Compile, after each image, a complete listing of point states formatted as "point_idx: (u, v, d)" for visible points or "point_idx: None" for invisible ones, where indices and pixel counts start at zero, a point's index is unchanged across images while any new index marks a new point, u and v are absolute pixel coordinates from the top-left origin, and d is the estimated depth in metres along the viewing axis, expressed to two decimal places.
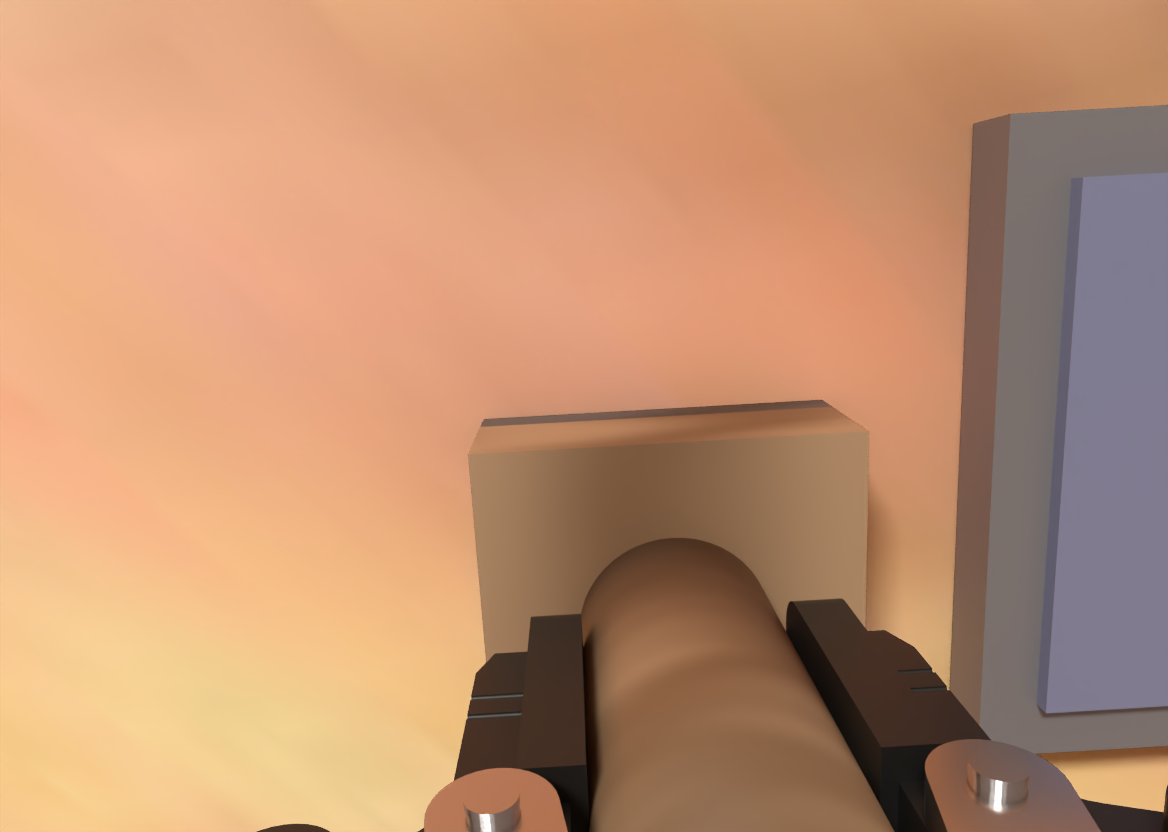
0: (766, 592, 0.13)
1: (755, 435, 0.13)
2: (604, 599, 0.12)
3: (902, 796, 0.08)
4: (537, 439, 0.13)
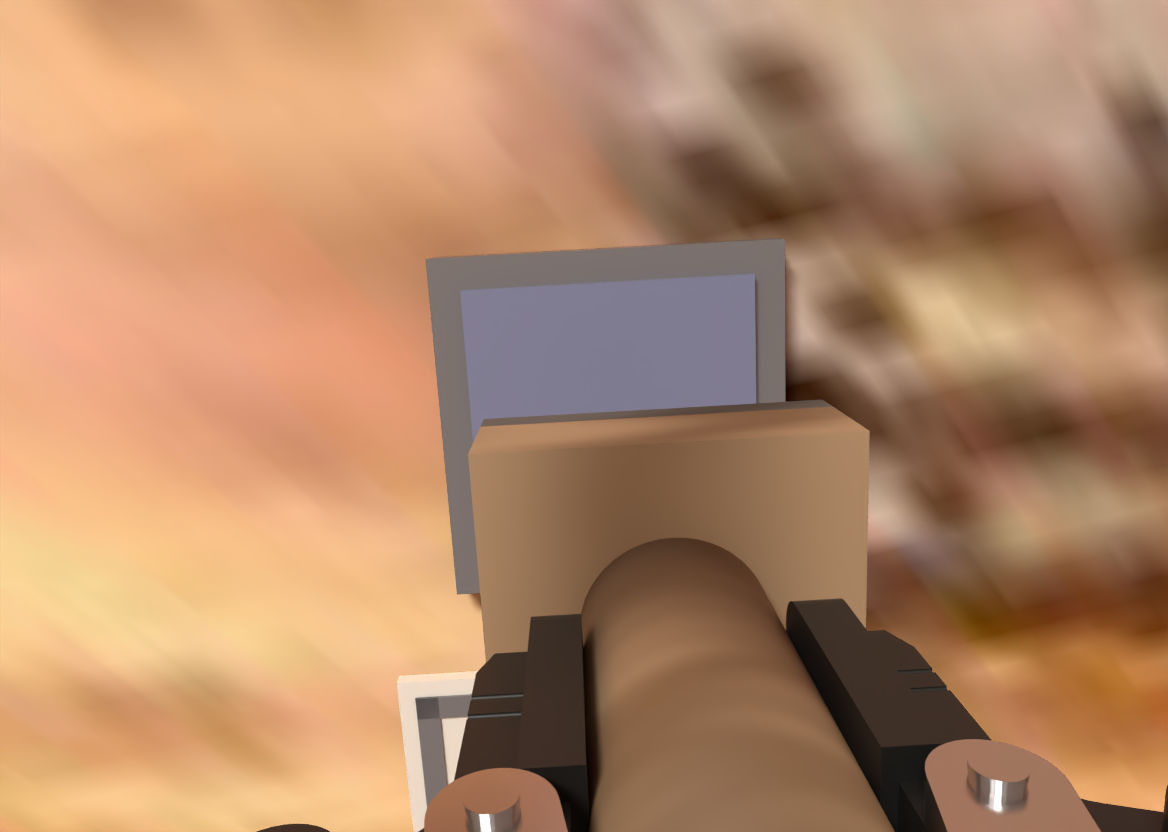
0: (766, 592, 0.13)
1: (755, 434, 0.13)
2: (604, 599, 0.12)
3: (902, 796, 0.08)
4: (537, 439, 0.13)
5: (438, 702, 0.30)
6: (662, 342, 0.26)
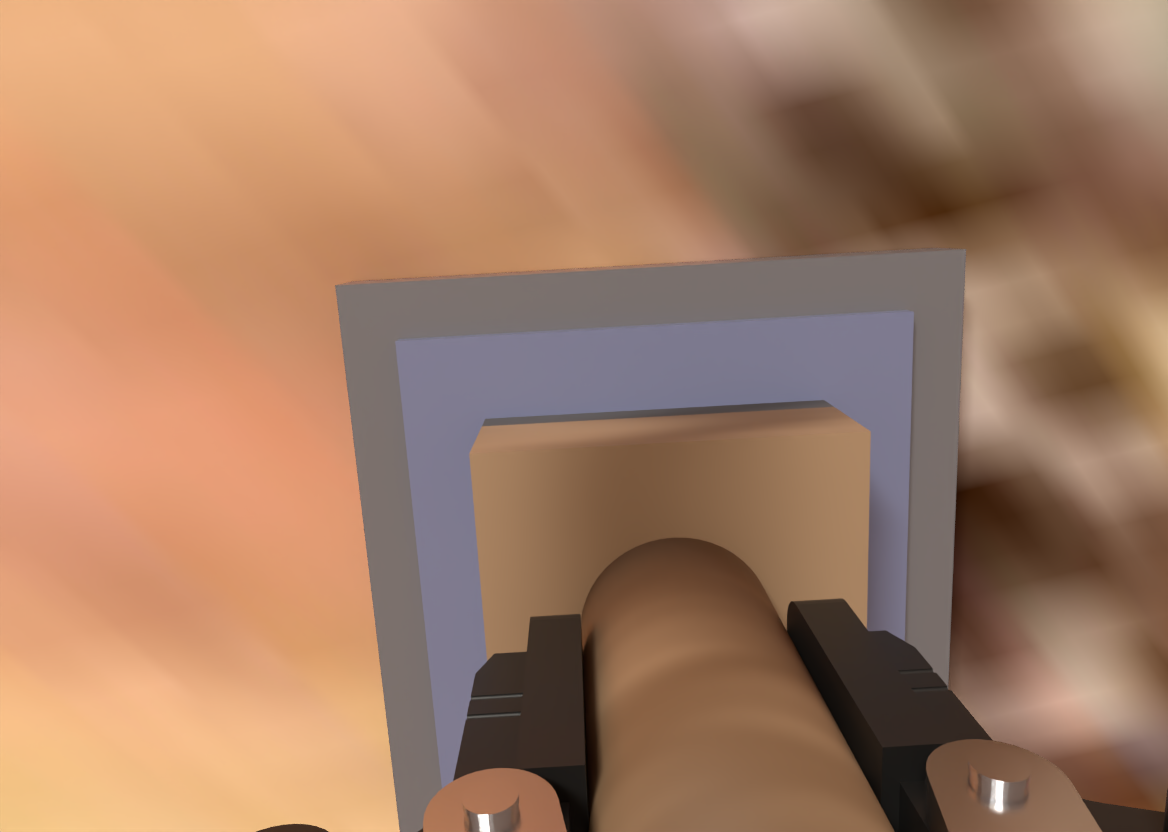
0: (767, 592, 0.13)
1: (756, 434, 0.13)
2: (605, 599, 0.12)
3: (903, 797, 0.08)
4: (538, 439, 0.13)
5: None
6: None
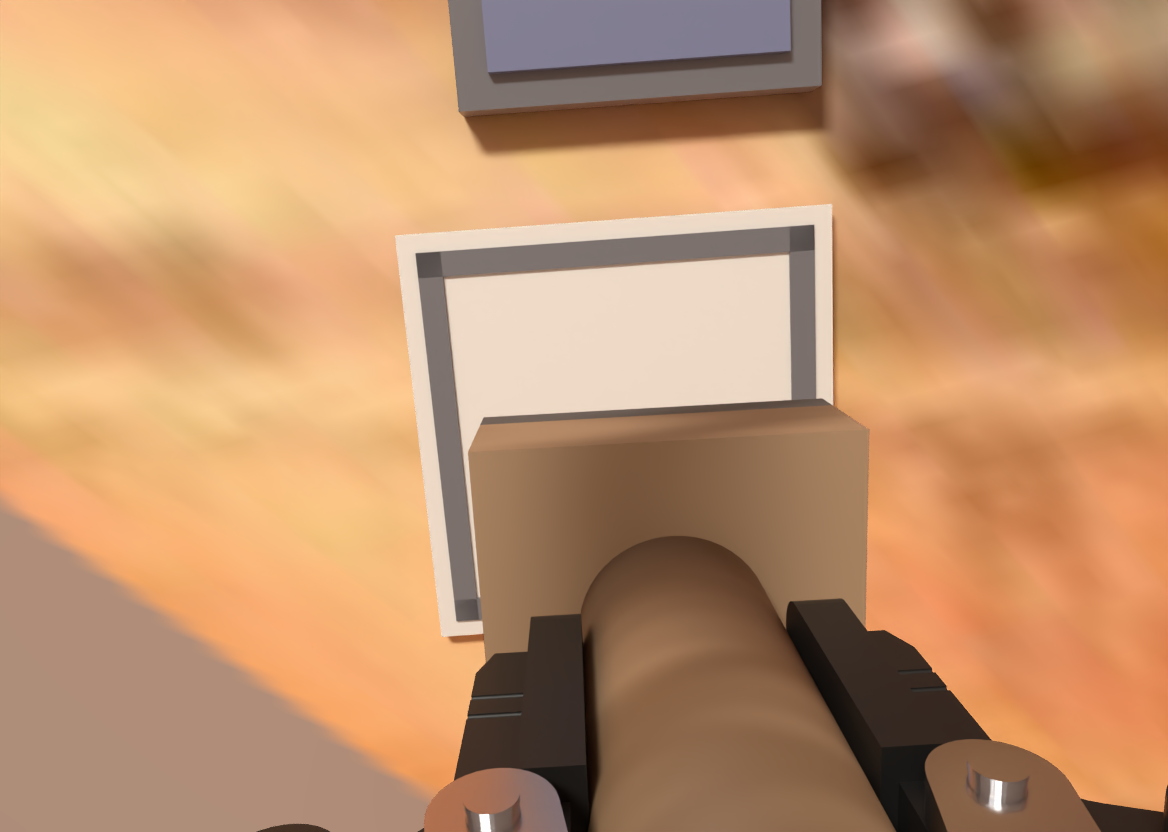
0: (766, 590, 0.13)
1: (755, 433, 0.13)
2: (604, 597, 0.12)
3: (902, 796, 0.08)
4: (537, 437, 0.13)
5: (440, 257, 0.27)
6: None
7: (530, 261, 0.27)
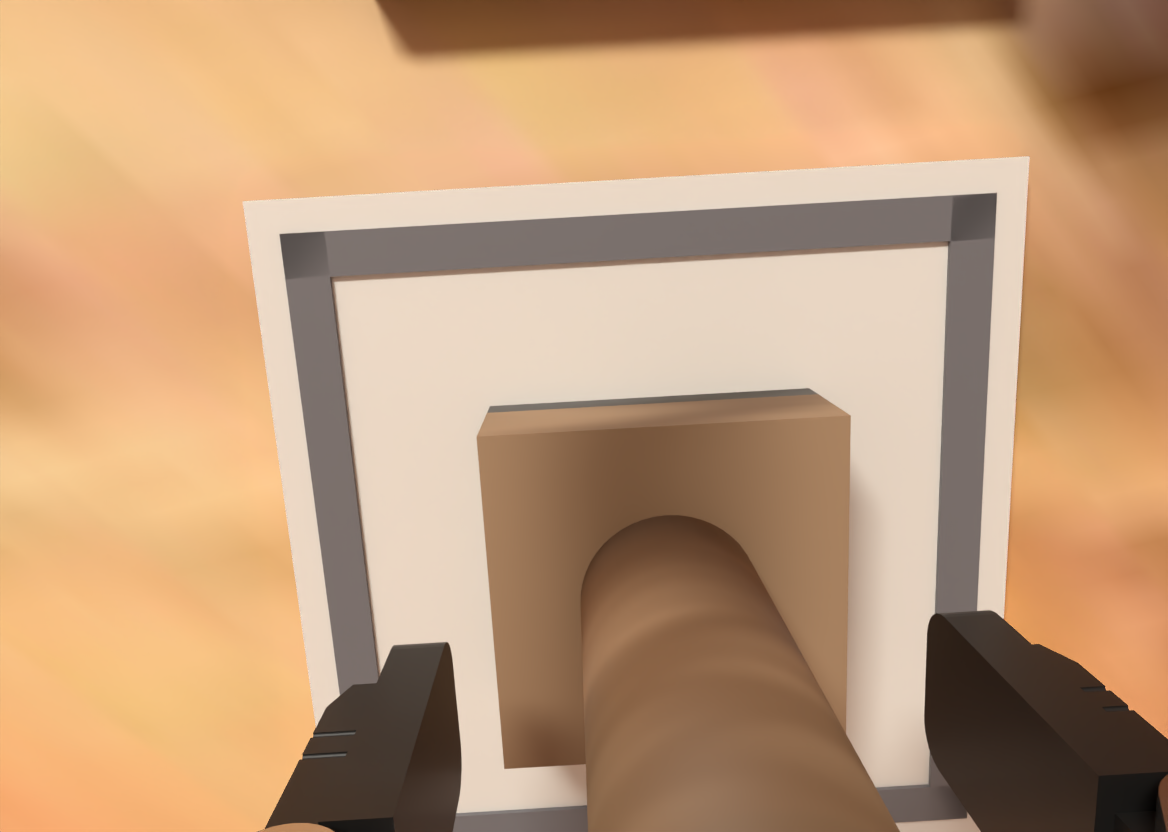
0: (755, 566, 0.14)
1: (743, 419, 0.14)
2: (603, 571, 0.13)
3: (1117, 827, 0.08)
4: (541, 423, 0.14)
5: (325, 242, 0.15)
6: None
7: (487, 251, 0.15)
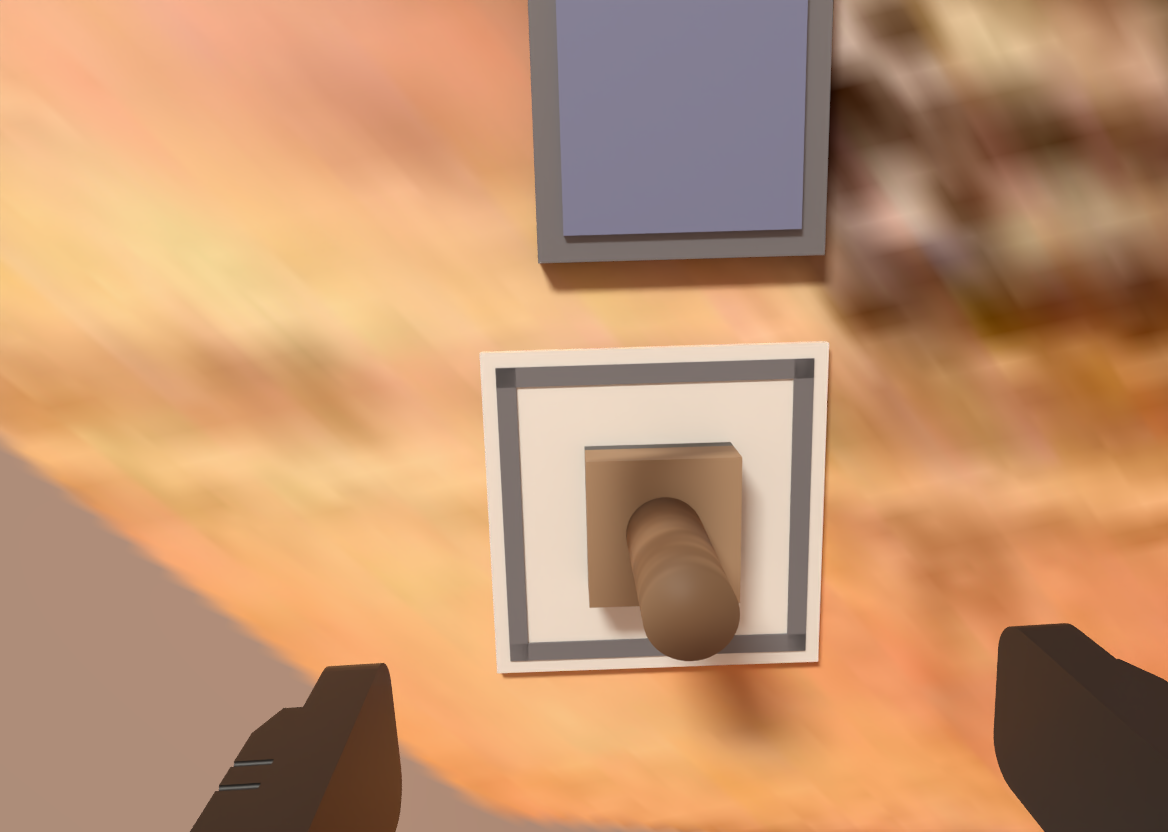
0: (701, 520, 0.33)
1: (697, 457, 0.32)
2: (638, 518, 0.32)
3: None
4: (611, 456, 0.33)
5: (515, 372, 0.34)
6: (726, 29, 0.30)
7: (587, 378, 0.34)
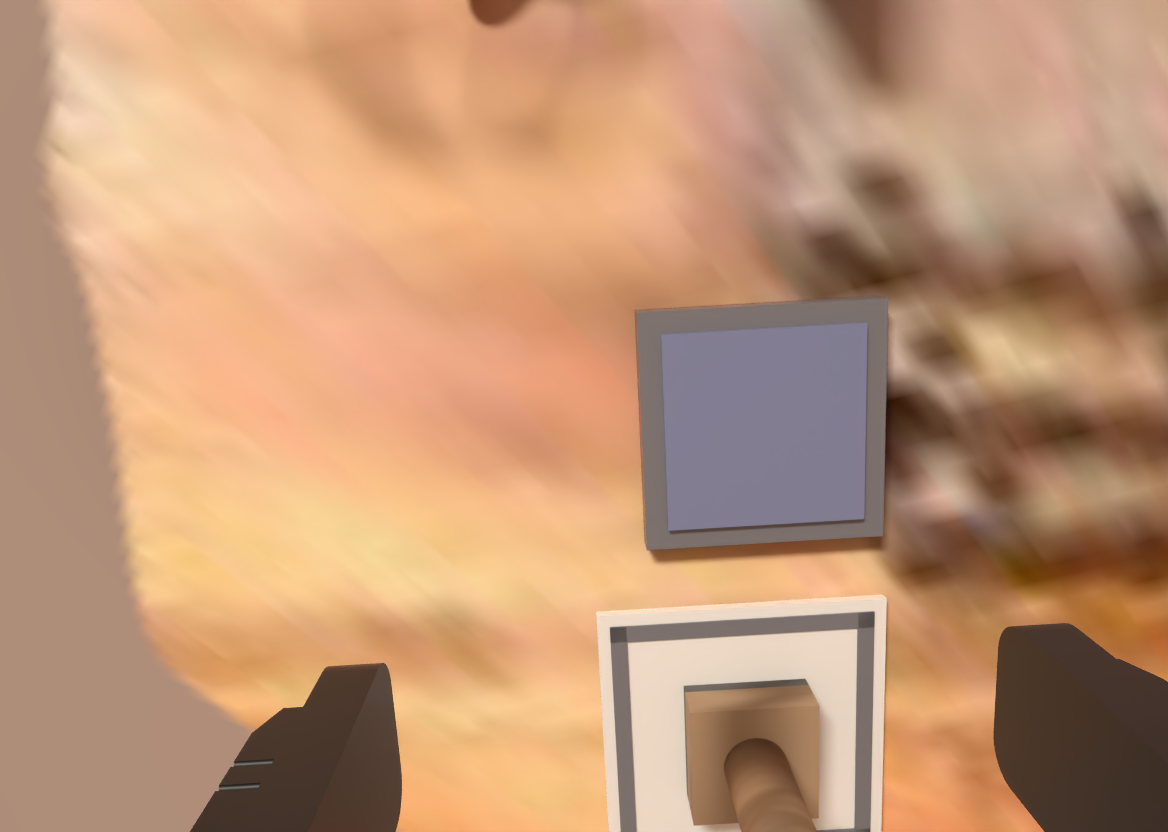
0: (786, 755, 0.40)
1: (782, 705, 0.39)
2: (736, 761, 0.39)
3: None
4: (709, 703, 0.40)
5: (626, 630, 0.41)
6: (801, 370, 0.37)
7: (685, 633, 0.41)
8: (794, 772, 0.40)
